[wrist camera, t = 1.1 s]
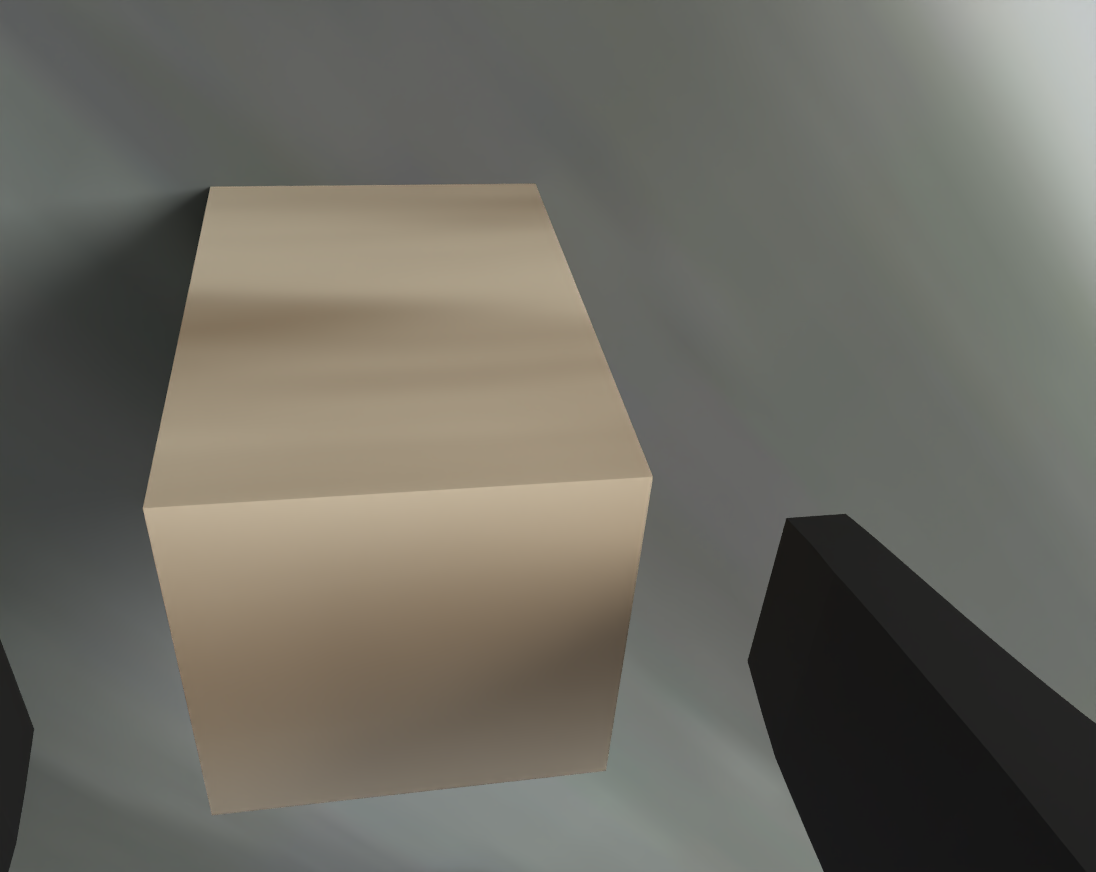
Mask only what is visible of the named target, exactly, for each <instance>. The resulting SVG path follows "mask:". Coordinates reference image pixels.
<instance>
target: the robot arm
mask: <svg viewBox="0 0 1096 872" xmlns="http://www.w3.org/2000/svg"><path fill="white" fill-rule="evenodd" d="M748 664H749V668H750V671H751V675H752V679H753V682H754V686H755V690H756V693H757V697H758V700H759V704H760V708H761V711H762V715H763V718H764V722H765V725H766V728H767V731H768V735H769V738H770V741H771V745H772V748H773V751H774V754H775V758H776V760H777V763H778V765H779V767H780V770H781V772H782V775H783V777H784V780H785V782H786V784H787V787H788V789H789V791H790V794H791V796H792V799H793V801H794V803H795V806H796V808H797V810H798V813H799V815H800V817H801V820H802V822H803V825H804V827H805V829H806V832H807V834H808V836H809V839H810V841H811V843H812V846H813V848H814V850H815V853H816V855H817V857H818V859H819V862H820V864H821V866H822V869H823V871H824V872H1096V723H1094V722H1093V721H1092V720H1090V719H1089V718H1088V717H1086V716H1085V715H1084V714H1083V713H1081V712H1080V711H1079V710H1078V709H1076V708H1075V707H1074V706H1073V705H1071V704H1070V703H1069V702H1068V701H1066V700H1065V699H1064V698H1063V697H1061V696H1060V695H1059V694H1058V693H1056V692H1055V691H1054V690H1052V689H1051V688H1050V687H1049V686H1047V685H1046V684H1045V683H1044V682H1043V681H1041V680H1040V679H1039V678H1038V677H1036V676H1035V675H1034V674H1033V673H1032V672H1030V671H1029V670H1028V669H1027V668H1026V667H1024V666H1023V665H1022V664H1021V663H1019V662H1018V661H1017V660H1016V659H1015V658H1014V657H1012V656H1011V655H1010V654H1009V653H1008V652H1006V651H1005V650H1004V649H1003V648H1002V647H1000V646H999V645H998V644H997V643H996V642H994V641H993V640H992V639H991V638H990V637H989V636H987V635H986V634H985V633H984V632H983V631H981V630H980V629H979V628H978V627H977V626H976V625H974V624H973V623H972V622H971V621H970V620H969V619H967V618H966V617H965V616H964V615H963V614H962V613H960V612H959V611H958V610H957V609H956V608H955V607H954V606H952V605H951V604H950V603H949V602H948V601H947V600H946V599H944V598H943V597H942V596H941V595H940V594H939V593H937V592H936V591H935V590H934V589H933V588H932V587H931V586H929V585H928V584H927V583H926V582H925V581H924V580H923V579H921V578H920V577H919V576H918V575H917V574H916V573H915V572H913V571H912V570H911V569H910V568H909V567H908V566H906V565H905V564H904V563H903V562H902V561H901V560H900V559H898V558H897V557H896V556H895V555H894V554H893V553H892V552H890V551H889V550H888V549H887V548H886V547H885V546H883V545H882V544H881V543H880V542H879V541H878V540H877V539H875V538H874V537H873V536H872V535H871V534H869V533H868V532H867V531H866V530H865V529H864V528H862V527H861V526H860V525H859V524H857V523H856V522H855V521H854V520H853V519H851V518H850V517H849V516H848V515H846V514H838V515H824V516H810V517H796V518H786V522H785V525H784V529H783V533H782V536H781V540H780V544H779V547H778V551H777V555H776V558H775V562H774V566H773V570H772V573H771V577H770V581H769V584H768V588H767V592H766V595H765V599H764V603H763V606H762V610H761V614H760V617H759V621H758V625H757V628H756V632H755V636H754V639H753V643H752V647H751V650H750V654H749V658H748ZM33 732H34V728H33V725H32V722H31V720H30V717H29V714H28V712H27V709H26V706H25V704H24V701H23V698H22V696H21V693H20V690H19V688H18V685H17V682H16V680H15V677H14V674H13V672H12V669H11V667H10V664H9V661H8V659H7V656H6V653H5V651H4V648H3V645H2V643H1V640H0V872H8V871H9V867H10V864H11V860H12V856H13V853H14V849H15V846H16V841H17V835H18V829H19V823H20V817H21V812H22V806H23V800H24V794H25V788H26V781H27V774H28V767H29V760H30V753H31V746H32V739H33Z"/></svg>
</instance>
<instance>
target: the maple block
mask: <svg viewBox="0 0 1096 872" xmlns="http://www.w3.org/2000/svg"><path fill="white" fill-rule="evenodd" d="M652 479H653V476H652V474H651V471H650V469H649V466H648V464H647V461H646V459H645V456H644V454H643V451H642V449H641V446H640V444H639V441H638V439H637V436H636V434H635V431H634V429H633V426H632V424H631V421H630V419H629V416H628V414H627V411H626V409H625V406H624V404H623V401H622V399H621V396H620V394H619V391H618V389H617V386H616V384H615V381H614V379H613V376H612V374H611V371H610V369H609V366H608V364H607V361H606V359H605V356H604V354H603V351H602V349H601V346H600V344H599V341H598V339H597V336H596V334H595V331H594V329H593V326H592V324H591V321H590V319H589V316H588V314H587V311H586V309H585V306H584V304H583V301H582V299H581V296H580V294H579V291H578V289H577V286H576V284H575V281H574V279H573V276H572V274H571V271H570V269H569V266H568V264H567V262H566V259H565V257H564V254H563V252H562V249H561V247H560V244H559V242H558V239H557V237H556V234H555V232H554V229H553V227H552V224H551V222H550V219H549V217H548V214H547V212H546V209H545V207H544V204H543V202H542V199H541V197H540V194H539V192H538V189H537V187H536V184H452V185H349V186H245V187H210V191H209V196H208V201H207V205H206V210H205V215H204V220H203V224H202V229H201V234H200V239H199V243H198V248H197V253H196V258H195V263H194V267H193V272H192V277H191V282H190V286H189V291H188V296H187V301H186V305H185V310H184V315H183V320H182V324H181V329H180V334H179V339H178V343H177V348H176V353H175V358H174V362H173V367H172V372H171V377H170V381H169V386H168V391H167V396H166V400H165V405H164V410H163V415H162V420H161V424H160V429H159V434H158V439H157V443H156V448H155V453H154V458H153V462H152V467H151V472H150V477H149V481H148V486H147V491H146V496H145V500H144V505H143V511H144V516H145V520H146V524H147V529H148V533H149V538H150V542H151V547H152V551H153V555H154V560H155V564H156V569H157V573H158V578H159V582H160V586H161V591H162V595H163V600H164V604H165V609H166V613H167V618H168V622H169V626H170V631H171V635H172V640H173V644H174V649H175V653H176V657H177V662H178V666H179V671H180V675H181V680H182V684H183V689H184V693H185V697H186V702H187V706H188V711H189V715H190V720H191V724H192V728H193V733H194V737H195V742H196V746H197V751H198V755H199V759H200V764H201V768H202V773H203V777H204V782H205V786H206V791H207V795H208V799H209V804H210V808H211V813H212V815H218V814H227V813H236V812H245V811H254V810H263V809H272V808H281V807H289V806H298V805H307V804H316V803H325V802H334V801H343V800H352V799H360V798H369V797H378V796H387V795H396V794H405V793H414V792H423V791H431V790H440V789H449V788H458V787H467V786H476V785H485V784H494V783H502V782H511V781H520V780H529V779H538V778H547V777H556V776H565V775H573V774H582V773H591V772H600V771H606V766H607V760H608V754H609V748H610V741H611V735H612V729H613V723H614V716H615V710H616V704H617V697H618V691H619V685H620V679H621V672H622V666H623V660H624V654H625V647H626V641H627V635H628V629H629V622H630V616H631V610H632V604H633V597H634V591H635V585H636V579H637V572H638V566H639V560H640V554H641V547H642V541H643V535H644V529H645V522H646V516H647V510H648V504H649V497H650V491H651V485H652Z"/></svg>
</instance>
